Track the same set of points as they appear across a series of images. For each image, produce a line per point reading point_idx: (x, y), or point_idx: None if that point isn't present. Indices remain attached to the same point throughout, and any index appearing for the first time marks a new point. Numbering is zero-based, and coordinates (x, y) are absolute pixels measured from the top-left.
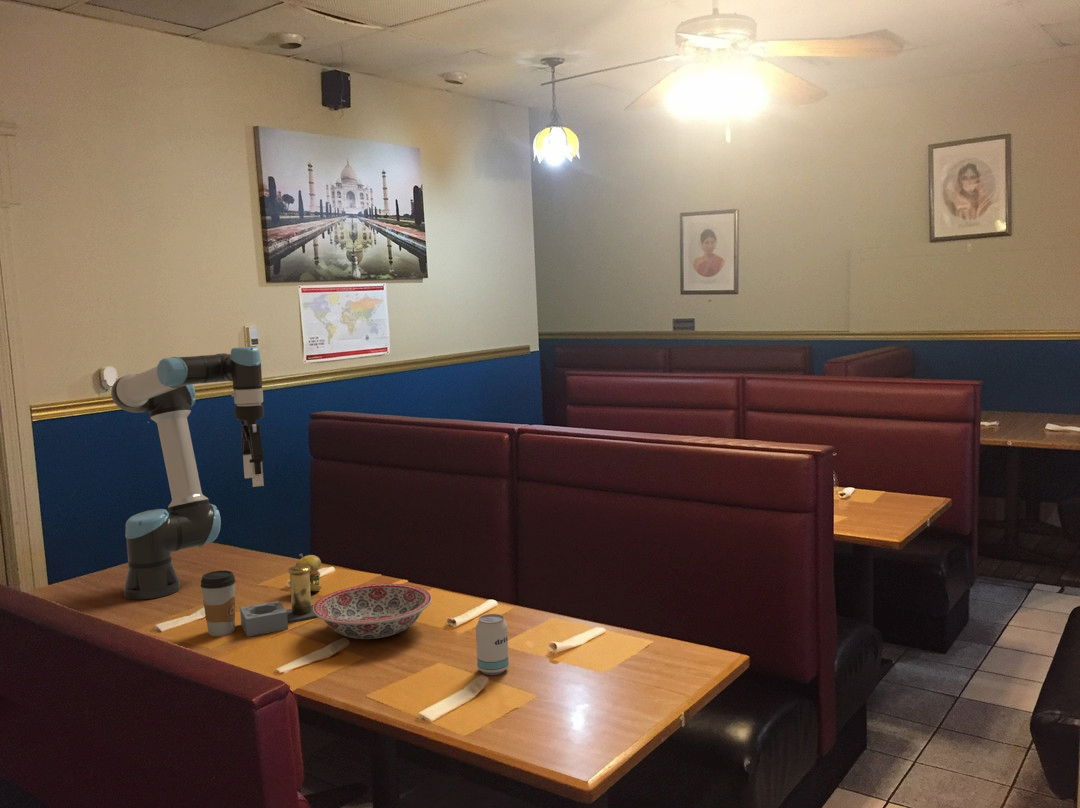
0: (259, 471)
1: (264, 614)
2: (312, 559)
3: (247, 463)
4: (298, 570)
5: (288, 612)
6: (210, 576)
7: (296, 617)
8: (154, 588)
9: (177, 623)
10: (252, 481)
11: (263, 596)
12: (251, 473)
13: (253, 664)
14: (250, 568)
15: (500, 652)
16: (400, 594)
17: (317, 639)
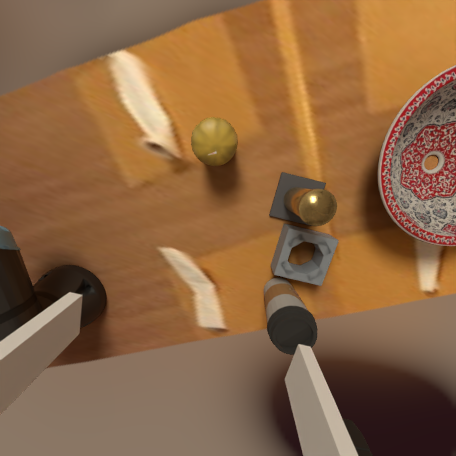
0: (361, 447)
1: (323, 264)
2: (226, 137)
3: (11, 387)
4: (328, 215)
5: (283, 212)
6: (287, 341)
7: None
8: (97, 307)
9: (213, 310)
10: (290, 400)
11: (188, 204)
12: (65, 321)
13: (391, 301)
14: (42, 161)
15: None
16: (447, 88)
17: (388, 225)
